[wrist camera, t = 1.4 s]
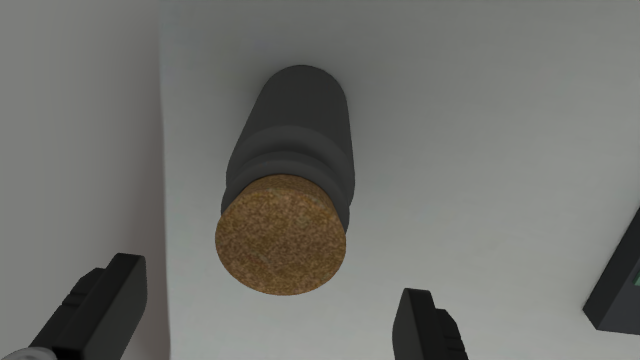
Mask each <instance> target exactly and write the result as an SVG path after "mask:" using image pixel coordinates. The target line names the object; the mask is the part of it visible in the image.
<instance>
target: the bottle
mask: <svg viewBox="0 0 640 360" xmlns="http://www.w3.org/2000/svg"><path fill="white" fill-rule="evenodd" d="M226 187H227V188H226V190H225V193H224V195H223V199H222V204H221V218H220V220H219V222H218V224H217V229H216V233H215V243H216V250H217V253H218V256H219V258H220V261H221V262H222V264H223V265H224V267H225V268H226V270H227V271H228V272H229V273H230V274H231V275H232V276H233V277H234V278H236V279H237V280H238V281H239V282H240V283H242V284H244V285H246V286H247V287H249V288H252V289H254V290H256V291H259V292H263V293H266V294H272V295H297V294H302V293H306V292H309V291H311V290H314V289H316V288H318V287H320V286H321V285H323V284H325V283H326V282H327V281H329V280H330V279H331V278H332V277H333V276H334V275H335V273H336V272H337V271H338V270H339V268H340V266H341V264H342V262H343V260H344V257H345V253H346V237H345V235H346V232H347V229H348V225H349V214H350V212H349V206H350V204H351V202H352V199H353V195H354V188H355V172H354V160H353V150H352V141H351V132H350V124H349V115H348V107H347V101H346V98H345V95H344V92H343V90H342V88H341V87H340V85H339V84H338V82H337V81H336V80H335V79H334V78H333V77H332V76H331V75H329V74H328V73H326V72H325V71H323V70H321V69H318V68H315V67H312V66H305V65H299V66H293V67H288V68H286V69H283V70H281V71H280V72H278V73H276V74H275V75H274V76H272V77H271V78H270V79H269V81H268V82H267V83H266V84H265V86H264V88H263V89H262V91H261V93H260V95H259V97H258V99H257V101H256V103H255V105H254V107H253V109H252V112H251V114H250V116H249V118H248V120H247V122H246V124H245V126H244V129H243V131H242V133H241V135H240V137H239V139H238V141H237V144H236V146H235V148H234V150H233V153H232V155H231V158H230V160H229V164H228V167H227V172H226Z"/></svg>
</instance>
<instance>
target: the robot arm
mask: <svg viewBox="0 0 640 360" xmlns="http://www.w3.org/2000/svg"><path fill="white" fill-rule="evenodd" d="M146 303H147V277H146V261H145V257H144V256H141V255H133V254H124V253H117V254H116V255H115V256H114V258H113V259H112V260H111V262H110V263H109V265H108V266H107V267H106V269H103V268H95V269H93V270H92V271H91V272H89V273H88V274H86V275H85V276H83V277H82V278H80V279H79V281H78V282H77V283H76V285H75V286H74V287H73V289H72V290H71V292H70V294H69V295H67V297H66V298H65V299H64V301H63V302H62V305H60V306H59V307H58V308H57V310H56V311H55V312H54V314H53V315H52V317H51V318H50V319H49V320H48V322H47V323H46V324H45V326H44V327H43V328H42V330H41V331H40V332H39V334H38V335H37V336H36V338H35V339H34V340H33V342H32V343H31V344H30V345H29V347H28V348H24V349H20V350H18V351H15V352H13V353H11V354H9V355H7V356H6V357H4V358H3V359H1V360H120V359H121V357H122V355H123V353H124V351H125V349H126V347H127V345H128V343H129V341H130V339H131V337H132V335H133V333H134V331H135V329H136V327H137V325H138V323H139V321H140V319H141V317H142V315H143V313H144V310H145V307H146ZM392 343H393V350H394V356H395V360H469V359H468V356H467V353H466V352H465V348H464V345H463V342H462V340H461V336H460V333H459V330H458V327H457V324H456V322H455V321H454V320H453V318H452V317H451V316H450V315H449V314H448V312H447V311H446V310H445V309H436V308H435V305H434V302H433V299H432V295H431V293H430V291H428V290H419V289H411V288H405V289H404V291H403V293H402V297H401V300H400V303H399V307H398V310H397V314H396V317H395V321H394V324H393V332H392Z"/></svg>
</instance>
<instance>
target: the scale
mask: <svg viewBox="0 0 640 360" xmlns="http://www.w3.org/2000/svg"><path fill="white" fill-rule="evenodd" d="M583 311H584V313H585V314H586V316H587V317H588V319H589V320H590V321H591V323H592V324H593V326H594V327H595V329H596V330H601V331H609V332H618V333H626V334H635V335H640V209H639V211H638V212H637V214H636V216H635V218H634V219H633V221H632V223H631V225H630V227H629V228H628V230H627V232H626V234H625V235H624V237H623V239H622V241H621V243H620V244H619V246H618V248H617V250H616V252H615V253H614V255H613V257H612V259H611V260H610V262H609V264H608V266H607V268H606V269H605V271H604V273H603V275H602V276H601V278H600V280H599V282H598V284H597V285H596V287H595V289H594V291H593V292H592V294H591V296H590V298H589V300H588V301H587V303H586V305H585V307H584V309H583Z"/></svg>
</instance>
